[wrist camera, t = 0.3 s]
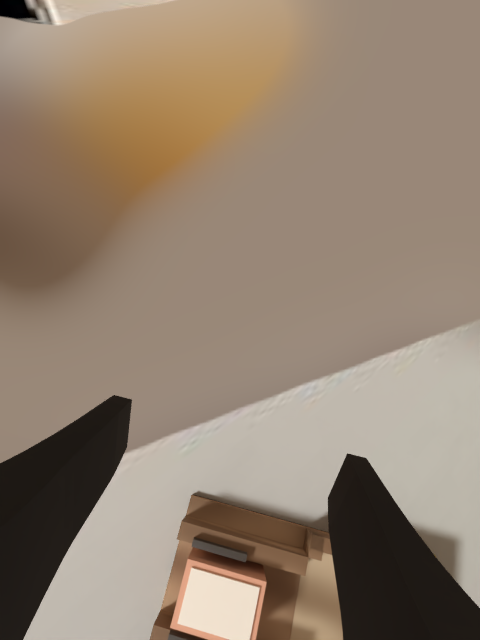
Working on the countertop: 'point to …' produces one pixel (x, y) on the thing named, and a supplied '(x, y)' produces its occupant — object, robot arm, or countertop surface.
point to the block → (219, 597)
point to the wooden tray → (279, 566)
